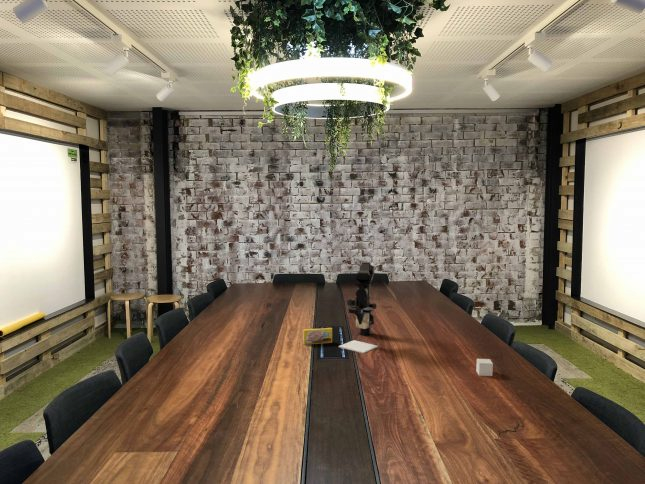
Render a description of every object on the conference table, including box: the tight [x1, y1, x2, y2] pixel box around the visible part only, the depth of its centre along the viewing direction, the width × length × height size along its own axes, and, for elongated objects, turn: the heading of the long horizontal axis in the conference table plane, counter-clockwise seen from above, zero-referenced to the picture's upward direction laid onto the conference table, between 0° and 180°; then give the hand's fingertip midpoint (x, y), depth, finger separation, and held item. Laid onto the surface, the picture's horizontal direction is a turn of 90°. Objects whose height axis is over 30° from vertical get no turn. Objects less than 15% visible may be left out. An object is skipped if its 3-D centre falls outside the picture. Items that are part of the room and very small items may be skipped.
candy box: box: [302, 327, 333, 346], centre depth 274 cm, size 16×2×8 cm, turn 105°
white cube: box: [475, 358, 494, 377], centre depth 231 cm, size 6×6×6 cm
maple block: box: [355, 312, 369, 329], centre depth 270 cm, size 4×6×8 cm, turn 50°
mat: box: [338, 339, 379, 354], centre depth 268 cm, size 14×16×1 cm
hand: (362, 323), depth 270 cm, fingers closed on maple block, 4 cm apart
